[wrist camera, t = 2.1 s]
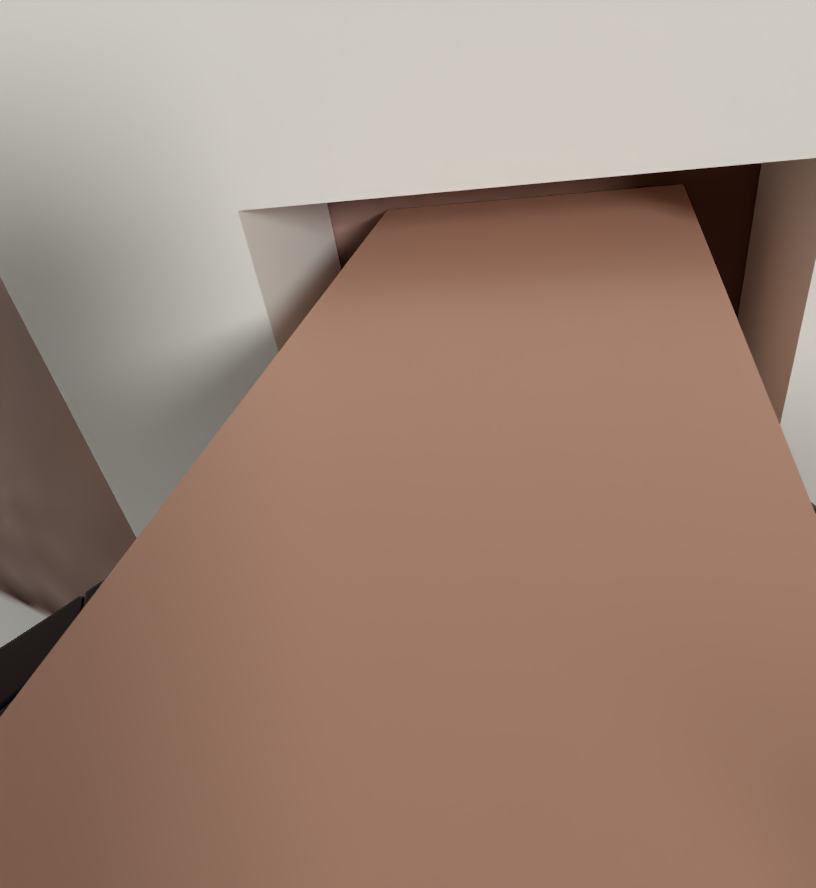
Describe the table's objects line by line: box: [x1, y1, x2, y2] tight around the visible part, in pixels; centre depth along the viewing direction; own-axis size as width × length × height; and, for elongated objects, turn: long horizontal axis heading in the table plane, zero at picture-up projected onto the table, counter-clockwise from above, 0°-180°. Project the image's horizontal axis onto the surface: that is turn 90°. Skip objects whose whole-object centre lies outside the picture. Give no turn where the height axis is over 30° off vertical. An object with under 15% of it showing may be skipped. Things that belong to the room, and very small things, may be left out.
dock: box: [0, 0, 816, 538], centre depth 10 cm, size 14×14×3 cm
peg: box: [0, 184, 816, 888], centre depth 8 cm, size 4×4×10 cm
